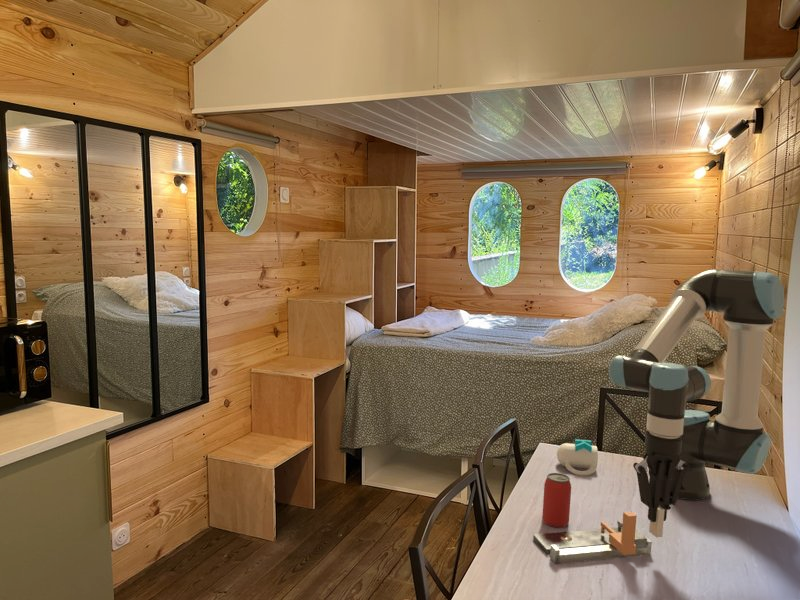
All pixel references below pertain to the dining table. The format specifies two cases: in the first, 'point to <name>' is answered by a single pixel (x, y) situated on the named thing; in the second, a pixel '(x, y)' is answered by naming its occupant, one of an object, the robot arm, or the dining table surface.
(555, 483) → the beer can
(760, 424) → the robot arm
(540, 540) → the hole plate
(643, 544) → the beam
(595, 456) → the mug
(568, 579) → the dining table surface
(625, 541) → the block
